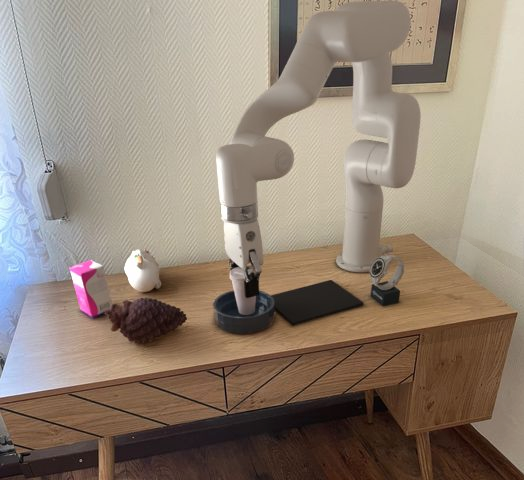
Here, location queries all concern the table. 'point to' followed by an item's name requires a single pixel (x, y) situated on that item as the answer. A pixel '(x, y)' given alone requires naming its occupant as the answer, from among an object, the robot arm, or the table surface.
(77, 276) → the supplement box
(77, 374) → the table surface
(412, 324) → the table surface
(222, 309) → the dish
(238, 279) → the smoothie
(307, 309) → the mat
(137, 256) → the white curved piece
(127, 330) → the pine cone
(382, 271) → the watch
